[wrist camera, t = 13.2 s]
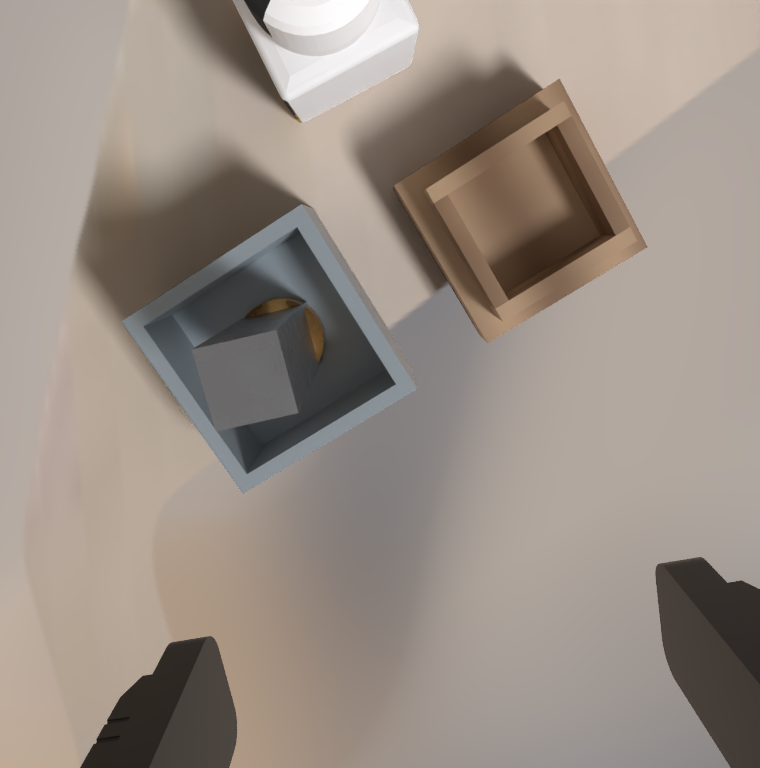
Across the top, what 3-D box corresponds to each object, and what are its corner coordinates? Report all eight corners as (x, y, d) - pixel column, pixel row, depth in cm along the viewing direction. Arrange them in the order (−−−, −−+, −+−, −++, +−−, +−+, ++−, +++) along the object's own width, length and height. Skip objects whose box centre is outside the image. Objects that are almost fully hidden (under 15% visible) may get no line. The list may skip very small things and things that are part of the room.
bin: (313, 208, 39) (301, 203, 33) (411, 366, 41) (417, 389, 35) (158, 308, 40) (121, 321, 35) (261, 457, 42) (242, 493, 37)
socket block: (545, 90, 38) (573, 67, 32) (627, 245, 40) (666, 247, 34) (392, 188, 39) (395, 181, 34) (479, 335, 41) (495, 350, 35)
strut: (234, 307, 39) (173, 338, 28) (314, 288, 39) (286, 312, 27) (256, 385, 40) (206, 447, 29) (334, 368, 40) (315, 423, 28)
